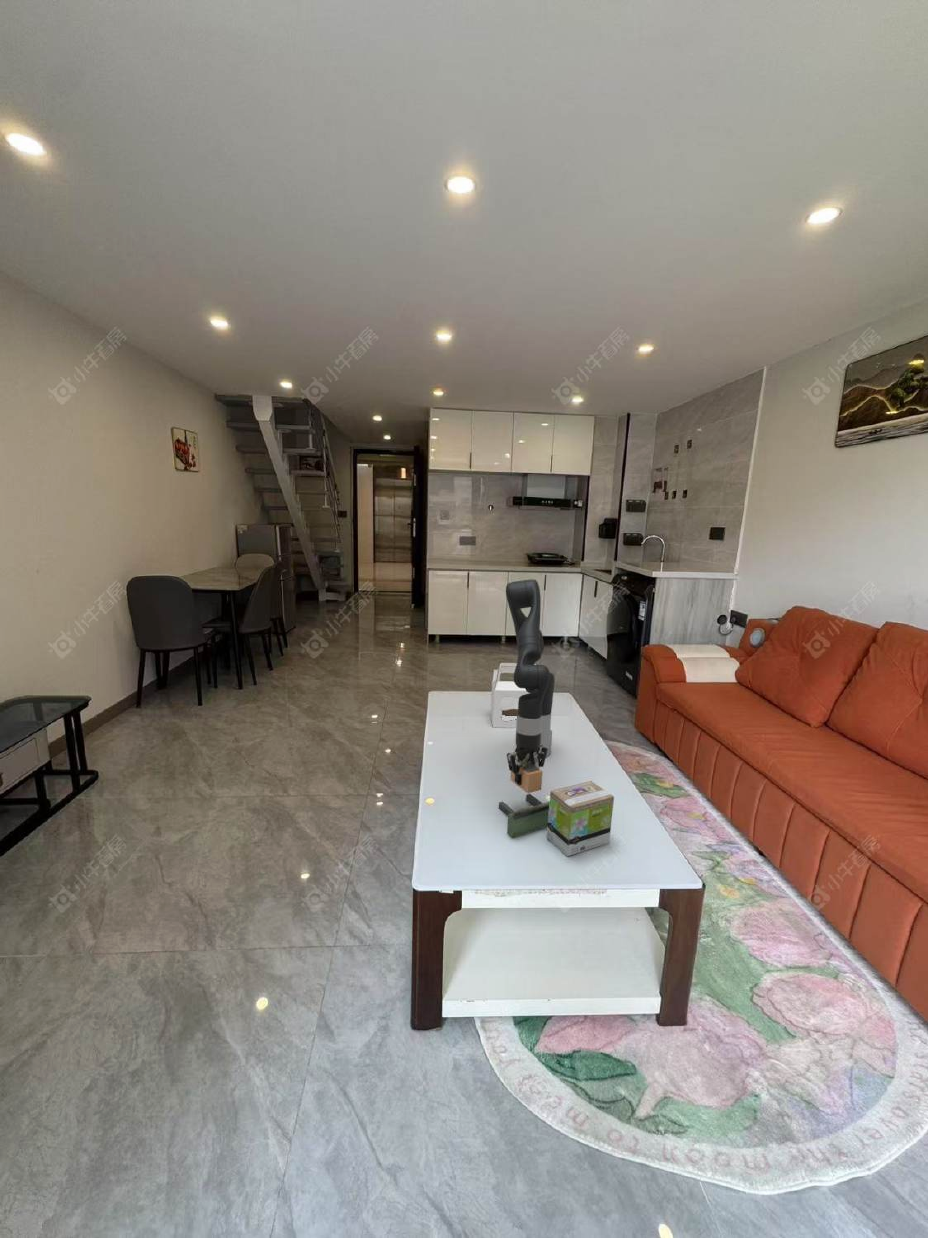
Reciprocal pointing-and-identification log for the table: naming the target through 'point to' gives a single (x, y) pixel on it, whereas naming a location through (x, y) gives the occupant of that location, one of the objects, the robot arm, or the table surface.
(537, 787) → the framed panel box
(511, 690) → the gable box
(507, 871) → the table surface
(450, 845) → the table surface
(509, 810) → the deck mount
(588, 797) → the tea box
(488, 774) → the table surface
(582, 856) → the table surface
